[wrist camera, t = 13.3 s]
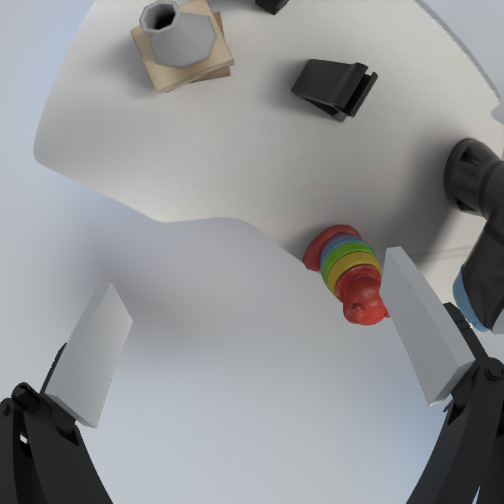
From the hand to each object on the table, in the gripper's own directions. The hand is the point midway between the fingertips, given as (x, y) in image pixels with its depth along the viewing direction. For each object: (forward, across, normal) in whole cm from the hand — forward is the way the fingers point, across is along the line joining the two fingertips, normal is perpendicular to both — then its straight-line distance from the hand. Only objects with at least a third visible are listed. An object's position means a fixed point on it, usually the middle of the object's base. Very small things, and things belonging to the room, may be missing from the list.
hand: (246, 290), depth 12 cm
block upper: (+26, -5, +16) cm, 31 cm away
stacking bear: (+31, +13, -19) cm, 39 cm away
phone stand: (+31, +12, +8) cm, 35 cm away
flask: (+21, -4, +16) cm, 27 cm away
